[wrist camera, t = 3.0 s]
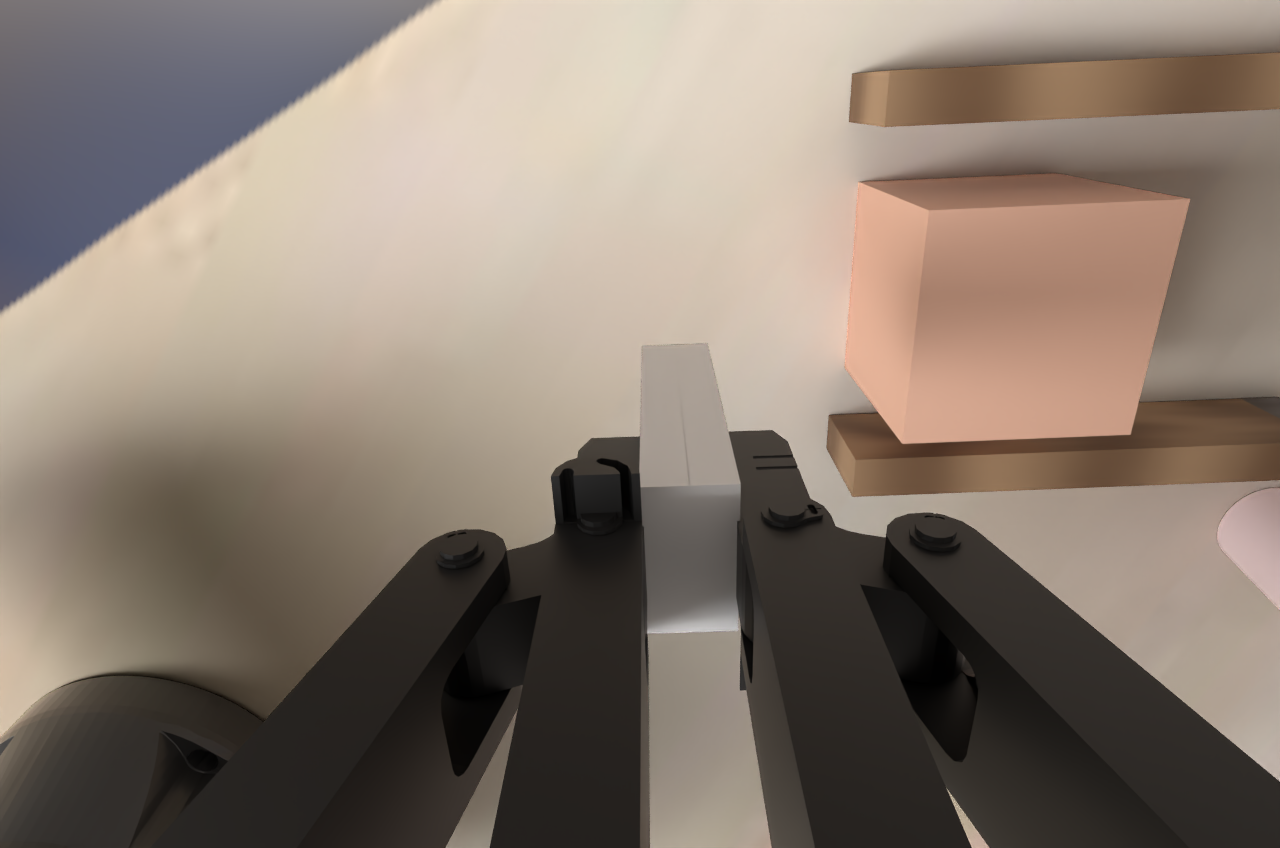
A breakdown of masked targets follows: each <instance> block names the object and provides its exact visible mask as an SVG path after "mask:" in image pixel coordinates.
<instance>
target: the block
mask: <svg viewBox="0 0 1280 848" xmlns="http://www.w3.org/2000/svg"><path fill="white" fill-rule="evenodd" d="M1189 203H1190V199H1188V198H1183V197H1178V196H1172V195H1167V194H1162V193H1157V192H1152V191H1146V190H1141V189H1136V188H1131V187H1126V186H1120V185H1115V184H1110V183H1105V182H1100V181H1095V180H1089V179H1084V178H1079V177H1074V176H1069V175H1063V174H1058V173H1050V174H1028V175H1005V176H983V177H960V178H938V179H915V180H893V181H870V182H858V195H857V209H856V222H855V235H854V248H853V261H852V275H851V288H850V301H849V314H848V328H847V341H846V354H845V367H844V368H845V369H846V370H847V372H848V373H849V374H850V376H851V377H852V378H853V380H854V381H855V382H856V384H857V385H858V386H859V387H860V389H861V390H862V391H863V393H864V394H865V395H866V397H867V398H868V399H869V401H870V402H871V403H872V405H873V406H874V407H875V409H876V410H877V411H878V413H879V414H880V415H881V417H882V418H883V419H884V420H885V422H886V423H887V424H888V426H889V427H890V428H891V430H892V431H893V432H894V434H895V435H896V436H897V438H898V439H899V440H900V442H901V443H902V444H911V443H936V442H961V441H986V440H1011V439H1036V438H1061V437H1086V436H1111V435H1131V431H1132V427H1133V423H1134V419H1135V415H1136V411H1137V407H1138V403H1139V399H1140V395H1141V391H1142V388H1143V384H1144V380H1145V376H1146V372H1147V368H1148V364H1149V360H1150V356H1151V352H1152V348H1153V344H1154V340H1155V336H1156V333H1157V329H1158V325H1159V321H1160V317H1161V313H1162V309H1163V305H1164V301H1165V297H1166V293H1167V289H1168V285H1169V281H1170V278H1171V274H1172V270H1173V266H1174V262H1175V258H1176V254H1177V250H1178V246H1179V242H1180V238H1181V234H1182V230H1183V226H1184V222H1185V219H1186V215H1187V211H1188V207H1189Z"/></svg>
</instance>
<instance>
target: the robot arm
mask: <svg viewBox="0 0 1280 848" xmlns="http://www.w3.org/2000/svg"><path fill="white" fill-rule="evenodd" d="M551 482H552V491H553V501H554V510H555V520H556V526H555V531H554V534H553V535H552V536H550V537H549V538H547V539H545V540H542V541H540V542H538V543H535V544H532V545H528V546H525V547H521V548H516V549H512V550H506V546H505V543H504V540H503V539H502V538H500V537H499V536H497V535H496V534H495V533H492V532H488V531H484V530H467V529H464V530H457V531H453V532H449V533H446V534H444V535H442V536H439V537H437V538H435V539H433V540H431V541H429V542H428V543H427V544H425V545H424V546H423V547H422V548H420V549H419V550H418V551H417V552H416V554H415V555H414V556H413V557H412V558H411V559H410V560H409V561H408V562H407V564H406V565H405V566H404V567H403V568H402V569H401V570H400V571H399V572H398V574H397V575H396V576H395V577H394V578H393V579H392V580H391V581H390V582H389V584H388V585H387V586H386V587H385V588H384V589H383V590H382V591H381V592H380V593H379V595H378V596H377V597H376V598H375V599H374V600H373V601H372V602H371V603H370V605H369V606H368V607H367V608H366V609H365V610H364V611H363V612H362V613H361V615H360V616H359V617H358V618H357V619H356V620H355V621H354V622H353V623H352V625H351V626H350V627H349V628H348V629H347V630H346V631H345V632H344V633H343V634H342V636H341V637H340V638H339V639H338V640H337V641H336V642H335V643H334V644H333V646H332V647H331V648H330V649H329V650H328V651H327V652H326V653H325V654H324V656H323V657H322V658H321V659H320V660H319V661H318V662H317V663H316V664H315V666H314V667H313V668H312V669H311V670H310V671H309V672H308V673H307V674H306V676H305V677H304V678H303V679H302V680H301V681H300V682H299V683H298V684H297V685H296V687H295V688H294V689H293V690H292V691H291V692H290V693H289V694H288V695H287V697H286V698H285V699H284V700H283V701H282V702H281V703H280V704H279V705H278V707H277V708H276V709H275V710H274V711H273V712H272V713H271V714H270V715H269V717H268V718H267V719H266V720H265V721H264V722H262V721H261V720H260V719H258V718H257V717H256V716H254V715H253V714H251V713H249V712H248V711H246V710H245V709H243V708H241V707H239V706H238V705H236V704H234V703H232V702H230V701H228V700H226V699H224V698H222V697H220V696H217V695H215V694H213V693H210V692H207V691H205V690H202V689H199V688H196V687H193V686H190V685H186V684H182V683H179V682H174V681H169V680H165V679H158V678H151V677H142V676H107V677H98V678H92V679H87V680H82V681H78V682H74V683H71V684H68V685H66V686H63V687H60V688H58V689H56V690H54V691H52V692H50V693H48V694H47V695H45V696H43V697H42V698H41V699H39V700H38V701H37V702H35V703H34V704H33V705H32V706H31V707H30V708H29V709H28V710H27V711H26V712H25V713H24V714H23V715H22V716H21V717H20V718H19V719H18V720H17V721H16V722H15V723H14V724H13V725H12V726H11V727H10V728H9V729H8V730H7V731H6V732H5V733H4V734H3V735H2V736H1V737H0V848H445V847H446V845H447V843H448V841H449V839H450V837H451V836H452V834H453V832H454V830H455V828H456V826H457V824H458V822H459V820H460V818H461V816H462V814H463V812H464V810H465V809H466V807H467V805H468V803H469V801H470V799H471V797H472V795H473V793H474V791H475V789H476V787H477V785H478V784H479V782H480V780H481V778H482V776H483V774H484V772H485V770H486V768H487V766H488V764H489V762H490V760H491V758H492V757H493V755H494V753H495V751H496V749H497V747H498V745H499V743H500V741H501V739H502V737H503V735H504V733H505V731H506V730H507V728H508V726H509V724H510V722H511V720H512V718H513V716H514V714H515V712H516V710H517V708H518V712H517V717H516V722H515V727H514V731H513V736H512V741H511V746H510V751H509V756H508V761H507V766H506V771H505V776H504V780H503V785H502V790H501V795H500V800H499V805H498V810H497V815H496V820H495V825H494V829H493V834H492V839H491V844H490V848H650V808H649V655H648V634H650V633H687V632H723V631H738V618H739V617H740V623H741V655H740V690H747V696H748V702H749V708H750V715H751V721H752V727H753V733H754V740H755V746H756V752H757V758H758V764H759V771H760V777H761V783H762V789H763V795H764V802H765V808H766V814H767V820H768V827H769V833H770V839H771V845H772V848H971V845H970V843H969V841H968V838H967V836H966V833H965V831H964V829H963V826H962V824H961V822H960V819H959V817H958V815H957V812H956V810H955V807H954V805H953V803H952V800H951V798H950V796H949V793H948V791H947V789H948V790H949V791H950V793H951V794H952V796H953V797H954V798H955V800H956V801H957V803H958V804H959V805H960V807H961V808H962V810H963V811H964V812H965V814H966V815H967V817H968V818H969V819H970V821H971V822H972V824H973V825H974V826H975V828H976V829H977V831H978V832H979V833H980V835H981V836H982V838H983V839H984V840H985V842H986V843H987V845H988V846H989V847H990V848H1280V782H1279V781H1278V780H1277V779H1276V778H1275V777H1273V776H1272V775H1271V774H1270V773H1269V772H1267V771H1266V770H1265V769H1264V768H1262V767H1261V766H1260V765H1259V764H1258V763H1256V762H1255V761H1254V760H1253V759H1252V758H1250V757H1249V756H1248V755H1247V754H1246V753H1244V752H1243V751H1242V750H1241V749H1240V748H1238V747H1237V746H1236V745H1235V744H1234V743H1232V742H1231V741H1230V740H1229V739H1228V738H1226V737H1225V736H1224V735H1223V734H1221V733H1220V732H1219V731H1218V730H1217V729H1215V728H1214V727H1213V726H1212V725H1211V724H1209V723H1208V722H1207V721H1206V720H1205V719H1203V718H1202V717H1201V716H1200V715H1199V714H1197V713H1196V712H1195V711H1194V710H1193V709H1191V708H1190V707H1189V706H1188V705H1186V704H1185V703H1184V702H1183V701H1182V700H1180V699H1179V698H1178V697H1177V696H1176V695H1174V694H1173V693H1172V692H1171V691H1170V690H1168V689H1167V688H1166V687H1165V686H1164V685H1162V684H1161V683H1160V682H1159V681H1158V680H1156V679H1155V678H1154V677H1153V676H1152V675H1150V674H1149V673H1148V672H1147V671H1145V670H1144V669H1143V668H1142V667H1141V666H1139V665H1138V664H1137V663H1136V662H1135V661H1133V660H1132V659H1131V658H1130V657H1129V656H1127V655H1126V654H1125V653H1124V652H1123V651H1121V650H1120V649H1119V648H1118V647H1117V646H1115V645H1114V644H1113V643H1112V642H1110V641H1109V640H1108V639H1107V638H1106V637H1104V636H1103V635H1102V634H1101V633H1100V632H1098V631H1097V630H1096V629H1095V628H1094V627H1092V626H1091V625H1090V624H1089V623H1088V622H1086V621H1085V620H1084V619H1083V618H1082V617H1080V616H1079V615H1078V614H1077V613H1075V612H1074V611H1073V610H1072V609H1071V608H1069V607H1068V606H1067V605H1066V604H1065V603H1063V602H1062V601H1061V600H1060V599H1059V598H1057V597H1056V596H1055V595H1054V594H1053V593H1051V592H1050V591H1049V590H1048V589H1047V588H1045V587H1044V586H1043V585H1042V584H1041V583H1039V582H1038V581H1037V580H1036V579H1034V578H1033V577H1032V576H1031V575H1030V574H1028V573H1027V572H1026V571H1025V570H1024V569H1022V568H1021V567H1020V566H1019V565H1018V564H1016V563H1015V562H1014V561H1013V560H1012V559H1010V558H1009V557H1008V556H1007V555H1006V554H1004V553H1003V552H1002V551H1001V550H999V549H998V548H997V547H996V546H995V545H993V544H992V543H991V542H990V541H989V540H987V539H986V538H985V537H984V536H983V535H981V534H980V533H979V532H978V531H977V530H975V529H974V528H972V527H970V526H969V525H967V524H965V523H964V522H962V521H959V520H956V519H953V518H950V517H947V516H945V515H941V514H933V513H915V514H907V515H904V516H901V517H897V518H895V519H894V520H893V521H892V522H891V523H890V524H888V525H887V533H886V538H884V537H878V536H871V535H865V534H859V533H855V532H850V531H846V530H844V529H841V528H838V527H836V526H835V524H834V522H833V519H832V517H831V515H830V513H829V512H828V511H827V510H826V508H825V507H824V506H823V505H821V504H819V503H817V502H815V501H814V500H812V499H810V497H809V494H808V492H807V489H806V487H805V484H804V482H803V479H802V477H801V474H800V472H799V469H797V464H796V462H795V459H794V457H793V454H792V451H791V449H790V446H789V444H788V441H786V440H785V439H783V438H782V437H781V436H779V435H778V434H777V433H775V432H774V431H773V430H764V431H735V432H728V428H727V424H726V419H725V415H724V411H723V407H722V402H721V398H720V394H719V390H718V385H717V381H716V377H715V373H714V368H713V364H712V360H711V356H710V351H709V347H708V343H700V344H673V345H646V346H642V367H641V416H640V437H615V438H591V439H590V440H589V441H588V442H587V443H586V444H585V445H584V446H583V447H582V448H581V449H580V450H579V452H578V457H577V458H576V459H573V460H570V461H567V462H565V463H564V464H562V465H560V466H559V467H557V468H556V469H555V471H554V472H553V474H552V475H551ZM518 706H519V707H518ZM946 787H947V789H946Z"/></svg>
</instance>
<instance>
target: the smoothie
mask: <svg viewBox="0 0 1280 848" xmlns="http://www.w3.org/2000/svg"><path fill="white" fill-rule="evenodd" d="M1217 540H1218V544H1219V546H1220V548H1221V550H1222V551H1223V552H1224V553H1225V554H1226V555H1227V556H1228V557H1229V558H1230V559H1231V560H1232V561H1233V562H1234V563H1235V564H1236V566H1237V567H1238V568H1239V569H1240V570H1241V571H1242V572H1243V573H1244V574H1245V575H1246V576H1247V577H1248V578H1249V579H1250V580H1251V581H1252V582H1253V583H1254V584H1255V585H1256V586H1257V587H1258V588H1259V589H1260V590H1261V592H1262V593H1263V594H1264V595H1265V596H1266V597H1267V598H1268V599H1269V600H1270V601H1271V602H1272V603H1273V604H1274V605H1275V606H1276V607H1277V608H1278V609H1279V610H1280V488H1268V489H1263V490H1259V491H1256V492H1254V493H1251V494H1249V495H1247V496H1245V497H1244V498H1242V499H1241V500H1239V501H1238V502H1237V503H1235V504H1234V505H1233V506H1232V507H1231V508H1230V509H1229V510H1228V511H1227V512H1226V514H1225V515H1224V517H1223V518H1222V520H1221V522H1220V524H1219V527H1218V531H1217Z"/></svg>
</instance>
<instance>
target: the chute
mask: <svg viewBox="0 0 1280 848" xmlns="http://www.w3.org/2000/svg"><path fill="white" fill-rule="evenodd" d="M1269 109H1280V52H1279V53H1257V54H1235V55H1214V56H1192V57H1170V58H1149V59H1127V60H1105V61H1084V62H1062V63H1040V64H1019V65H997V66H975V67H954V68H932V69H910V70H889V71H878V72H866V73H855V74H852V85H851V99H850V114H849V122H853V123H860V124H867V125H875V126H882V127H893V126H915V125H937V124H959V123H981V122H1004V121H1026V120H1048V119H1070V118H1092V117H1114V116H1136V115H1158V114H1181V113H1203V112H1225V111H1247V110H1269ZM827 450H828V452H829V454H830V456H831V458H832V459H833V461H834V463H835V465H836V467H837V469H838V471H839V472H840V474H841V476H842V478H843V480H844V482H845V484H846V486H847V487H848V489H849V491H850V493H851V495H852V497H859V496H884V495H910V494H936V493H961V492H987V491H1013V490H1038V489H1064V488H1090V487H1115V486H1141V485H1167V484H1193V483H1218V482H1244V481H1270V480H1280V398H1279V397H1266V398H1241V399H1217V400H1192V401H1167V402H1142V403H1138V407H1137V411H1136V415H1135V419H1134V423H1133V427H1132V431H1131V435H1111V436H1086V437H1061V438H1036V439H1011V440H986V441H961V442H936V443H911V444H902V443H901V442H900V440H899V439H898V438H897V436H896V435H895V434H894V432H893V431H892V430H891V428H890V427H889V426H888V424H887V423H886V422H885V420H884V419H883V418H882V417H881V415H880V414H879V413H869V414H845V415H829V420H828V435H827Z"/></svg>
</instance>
